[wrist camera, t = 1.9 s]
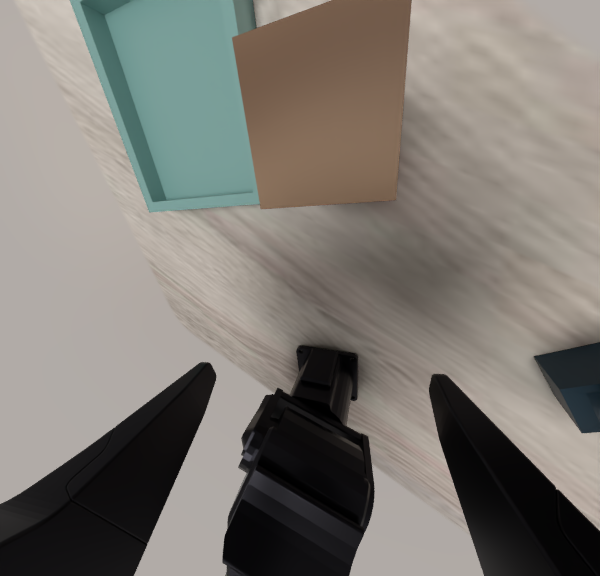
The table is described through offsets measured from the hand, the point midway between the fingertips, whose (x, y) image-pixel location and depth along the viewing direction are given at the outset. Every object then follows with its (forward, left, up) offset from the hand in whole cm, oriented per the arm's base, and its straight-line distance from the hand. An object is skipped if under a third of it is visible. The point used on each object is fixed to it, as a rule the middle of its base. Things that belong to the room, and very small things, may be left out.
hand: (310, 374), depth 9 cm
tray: (+13, +12, -12) cm, 21 cm away
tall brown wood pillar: (+9, 0, -12) cm, 15 cm away
